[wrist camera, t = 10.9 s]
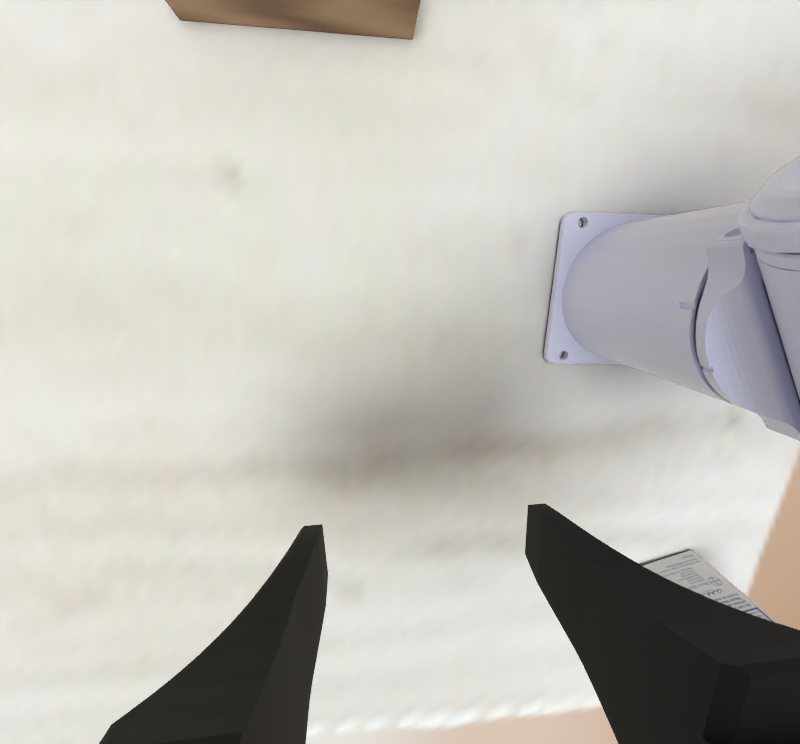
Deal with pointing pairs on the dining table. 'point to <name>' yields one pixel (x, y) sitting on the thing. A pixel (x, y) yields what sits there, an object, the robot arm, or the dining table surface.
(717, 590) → the medicine box
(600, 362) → the robot arm
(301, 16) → the walnut block
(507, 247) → the dining table surface
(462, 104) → the dining table surface
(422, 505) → the dining table surface
